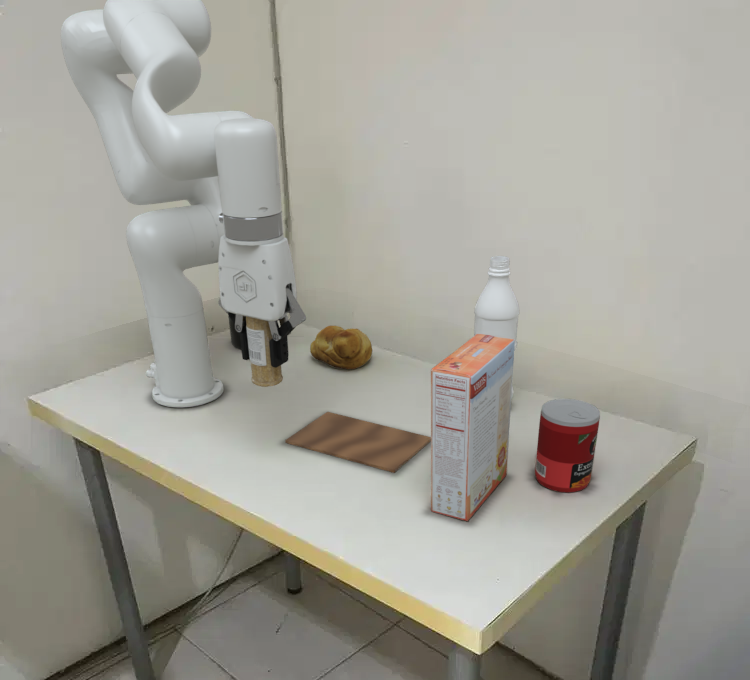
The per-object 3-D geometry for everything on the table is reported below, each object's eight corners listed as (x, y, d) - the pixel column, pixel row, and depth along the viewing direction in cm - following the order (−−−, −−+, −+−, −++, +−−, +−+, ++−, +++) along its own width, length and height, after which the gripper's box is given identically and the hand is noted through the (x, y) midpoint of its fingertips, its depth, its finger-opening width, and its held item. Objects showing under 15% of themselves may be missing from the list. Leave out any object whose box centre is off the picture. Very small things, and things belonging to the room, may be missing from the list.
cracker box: (469, 467, 114) (476, 331, 103) (508, 476, 112) (518, 338, 101) (426, 512, 104) (428, 366, 93) (467, 523, 102) (474, 375, 91)
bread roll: (300, 362, 151) (297, 322, 147) (333, 347, 158) (331, 309, 154) (349, 377, 144) (348, 336, 140) (382, 361, 151) (381, 321, 147)
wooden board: (285, 442, 122) (284, 440, 122) (327, 414, 131) (327, 411, 131) (394, 473, 113) (394, 470, 113) (432, 440, 122) (432, 437, 122)
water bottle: (464, 411, 131) (471, 262, 117) (476, 395, 136) (483, 251, 123) (506, 417, 128) (517, 266, 115) (516, 400, 134) (528, 254, 121)
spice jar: (288, 383, 110) (282, 290, 102) (259, 390, 108) (250, 296, 100) (274, 372, 113) (266, 281, 106) (245, 379, 111) (236, 287, 104)
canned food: (579, 499, 106) (589, 427, 100) (525, 484, 110) (532, 414, 104) (597, 475, 112) (608, 405, 106) (545, 461, 115) (552, 393, 109)
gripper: (184, 225, 100) (202, 357, 110) (289, 242, 92) (298, 382, 102) (222, 213, 105) (236, 340, 115) (324, 228, 98) (330, 363, 108)
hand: (265, 359), depth 108 cm, fingers closed on spice jar, 4 cm apart
